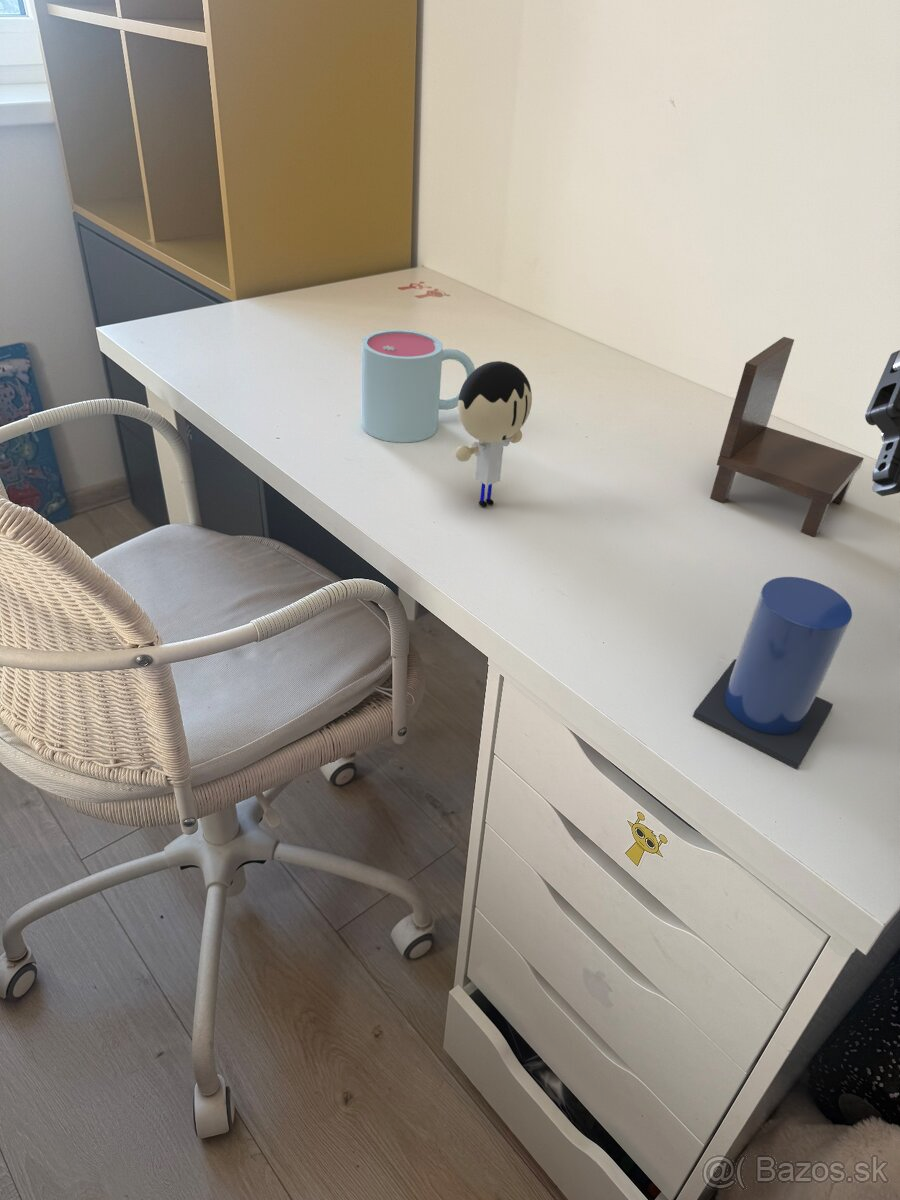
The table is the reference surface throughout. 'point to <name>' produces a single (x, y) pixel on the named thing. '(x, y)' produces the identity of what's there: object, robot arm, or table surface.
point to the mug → (404, 384)
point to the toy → (492, 417)
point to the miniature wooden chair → (779, 444)
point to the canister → (786, 654)
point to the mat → (777, 746)
